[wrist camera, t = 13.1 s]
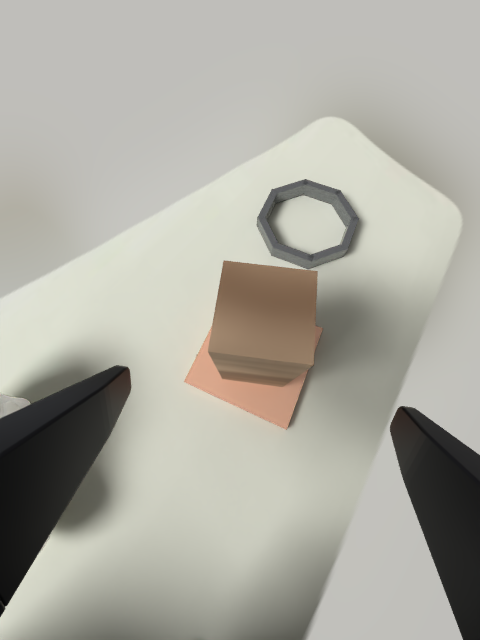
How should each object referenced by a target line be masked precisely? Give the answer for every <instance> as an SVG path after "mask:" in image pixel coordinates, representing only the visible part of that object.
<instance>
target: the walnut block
mask: <svg viewBox="0 0 480 640" xmlns="http://www.w3.org/2000/svg"><path fill="white" fill-rule="evenodd" d="M317 272H318V271H311V270H302V269H293V268H284V267H276V266H267V265H258V264H249V263H240V262H231V261H224V262H223V268H222V273H221V279H220V285H219V290H218V296H217V302H216V307H215V313H214V319H213V324H212V330H211V336H210V341H209V347H208V353H209V355H210V357H211V359H212V360H213V362H214V364H215V366H216V368H217V370H218V372H219V374H220V376H221V377H222V379H226V380H233V381H240V382H248V383H255V384H263V385H270V386H277V387H283V386H285V385H286V384H288V383H289V382H290V381H292V380H293V379H295V378H296V377H298V376H299V375H300V374H302V373H303V372H305V371H306V370H308V369H309V368H310V367H312V366H313V365H314V344H315V320H316V296H317Z"/></svg>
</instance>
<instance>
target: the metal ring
mask: <svg viewBox="0 0 480 640" xmlns="http://www.w3.org/2000/svg"><path fill="white" fill-rule="evenodd" d="M300 195H306V196H309V197H312V198H315V199H318V200H321V201H324V202H327V203H330V204H332V206H333V207H334V209H335V210H336V212H337V213H338V215H339V217H340V218H341V220H342V221H343V223H344V225H345V226H346V230H345V232H344V235H343V238H342V240H341V243H340V245H338V246H335V247H332V248H329V249H326V250H323V251H320V252H317V253H315V254H312V255H310V254H307V253H304V252H302V251H299V250H296V249H293V248H291V247H288V246H285V245H283V244H280V243H278V241H277V239H276V237H275V235H274V233H273V232H272V230H271V228H270V226H269V224H268V222H267V219H268V217H269V215H270V213H271V211H272V209H273V207H274V205H275V203H278V202H281V201H284V200H287V199H291V198H294V197H297V196H300ZM358 220H359V218H358V217H357V215H356V214H355V212H354V211H353V209H352V208H351V206H350V205H349V203H348V202H347V200H346V199H345V197H344V195H343V194H342V192H341V191H340V190H337V189H334V188H331V187H328V186H325V185H322V184H318V183H315V182H312V181H309V180H306V179H305V180H301V181H298V182H295V183H292V184H288V185H285V186H282V187H279V188H275V189H272V190H271V192H270V194H269V196H268V198H267V200H266V202H265V204H264V206H263V208H262V210H261V212H260V214H259V216H258V217H257V227H258V229H259V231H260V233H261V235H262V237H263V239H264V241H265V243H266V245H267V247H268V249H269V251H270V253H271V255H272V256H274V257H277V258H280V259H282V260H285V261H288V262H290V263H293V264H296V265H299V266H301V267H304V268H307V269H309V268H312V267H315V266H318V265H321V264H324V263H326V262H329V261H332V260H335V259H338V258H341V257H343V256H344V255H345V253H346V251H347V250H348V247H349V244H350V241H351V238H352V236H353V233H354V230H355V227H356V225H357V222H358Z"/></svg>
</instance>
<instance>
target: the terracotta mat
mask: <svg viewBox="0 0 480 640" xmlns="http://www.w3.org/2000/svg"><path fill="white" fill-rule="evenodd" d="M211 330H212V327H211V329H210V331H209V333H208V335H207V337H206V339H205V341H204V343H203V345H202V347H201V349H200V351H199V353H198V355H197V357H196V359H195V361H194V363H193V365H192V367H191V369H190V371H189V373H188V375H187V377H186V379H185V381H184V382H185V383H188V384H190V385H192V386H194V387H196V388H198V389H200V390H203V391H205V392H207V393H209V394H211V395H213V396H215V397H218V398H220V399H222V400H224V401H226V402H228V403H230V404H232V405H235V406H237V407H239V408H241V409H243V410H245V411H247V412H250V413H252V414H254V415H256V416H258V417H260V418H262V419H265V420H267V421H269V422H271V423H273V424H275V425H277V426H280V427H282V428H284V429H286V430H287V427H288V425H289V422H290V419H291V416H292V413H293V411H294V408H295V405H296V402H297V400H298V397H299V394H300V391H301V388H302V386H303V383H304V380H305V377H306V374H307V372H308V370H306V371H305V372H303V373H302V374H300V375H299V376H298V377H296V378H295V379H293V380H292V381H290V382H289V383H288V384H286V385H285V386H283V387H277V386H270V385H263V384H255V383H248V382H240V381H233V380H226V379H222V377H221V376H220V374H219V372H218V370H217V368H216V366H215V364H214V362H213V360H212V359H211V357H210V355H209V353H208V347H209V341H210V336H211ZM322 330H323V328H321V327H318V326H316V325H315V344H314V352H315V349H316V347H317V344H318V341H319V338H320V336H321V333H322Z"/></svg>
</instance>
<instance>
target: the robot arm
mask: <svg viewBox="0 0 480 640" xmlns="http://www.w3.org/2000/svg"><path fill="white" fill-rule="evenodd" d="M130 391H131V378H130V370H129V368H128V367H126V366H119V365H116V366H114V367H111V368H109V369H107V370H105V371H103V372H100V373H98V374H96V375H94V376H92V377H90V378H87V379H85V380H83V381H81V382H79V383H76V384H74V385H72V386H70V387H68V388H65V389H63V390H61V391H59V392H57V393H54V394H52V395H50V396H48V397H46V398H44V399H41V400H39V401H37V402H35V403H33V404H30V405H28V406H26V407H24V408H22V409H19V410H17V411H15V412H13V413H11V414H8V415H6V416H4V417H2V418H0V617H1V615H2V613H3V612H4V610H5V606H7V605H8V603H9V601H10V600H11V598H12V596H13V595H14V593H15V592H16V590H17V588H18V587H19V585H20V583H21V582H22V580H23V578H24V577H25V575H26V573H27V572H28V570H29V568H30V567H31V565H32V563H33V562H34V560H35V558H36V557H37V555H38V553H39V552H40V550H41V548H42V547H43V545H44V543H45V542H46V540H47V539H48V537H49V535H50V534H51V532H52V530H53V529H54V527H55V525H56V524H57V522H58V520H59V519H60V517H61V515H62V514H63V512H64V510H65V509H66V507H67V505H68V504H69V502H70V500H71V499H72V497H73V495H74V494H75V492H76V490H77V489H78V487H79V486H80V484H81V482H82V481H83V479H84V477H85V476H86V474H87V472H88V471H89V469H90V467H91V466H92V464H93V462H94V461H95V459H96V457H97V456H98V454H99V452H100V451H101V449H102V447H103V446H104V444H105V442H106V441H107V439H108V437H109V436H110V434H111V432H112V430H113V428H114V426H115V424H116V422H117V420H118V417H119V415H120V413H121V411H122V409H123V407H124V405H125V402H126V400H127V398H128V396H129V394H130ZM390 432H391V436H392V440H393V444H394V447H395V451H396V455H397V459H398V463H399V466H400V470H401V474H402V477H403V480H404V483H405V486H406V488H407V491H408V494H409V496H410V499H411V502H412V504H413V507H414V510H415V513H416V515H417V518H418V520H419V523H420V526H421V528H422V531H423V534H424V536H425V539H426V542H427V544H428V547H429V550H430V552H431V555H432V558H433V560H434V563H435V566H436V568H437V571H438V574H439V576H440V579H441V582H442V584H443V587H444V590H445V592H446V595H447V598H448V600H449V603H450V606H451V608H452V611H453V614H454V616H455V619H456V621H457V624H458V627H459V629H460V632H461V635H462V638H463V640H480V455H479V454H477V453H476V452H474V451H473V450H472V449H470V448H469V447H467V446H466V445H465V444H463V443H462V442H461V441H459V440H458V439H457V438H455V437H454V436H452V435H451V434H450V433H448V432H447V431H445V430H444V429H443V428H441V427H440V426H439V425H437V424H436V423H434V422H433V421H432V420H430V419H429V418H427V417H426V416H425V415H423V414H422V413H420V412H419V411H418V410H416V409H415V408H412V407H405V406H401V407H399V408H398V410H397V412H396V414H395V416H394V418H393V420H392V422H391V425H390Z"/></svg>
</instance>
